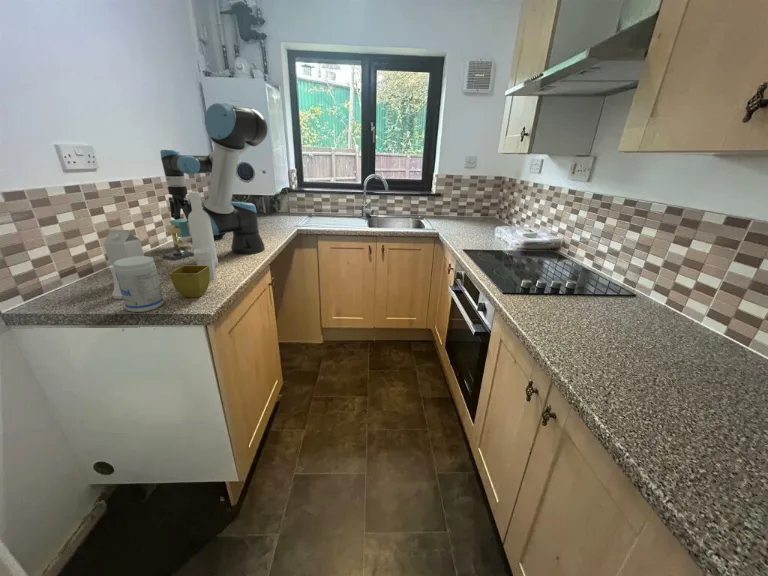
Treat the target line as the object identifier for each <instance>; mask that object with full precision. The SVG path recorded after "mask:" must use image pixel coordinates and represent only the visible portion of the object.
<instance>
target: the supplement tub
mask: <svg viewBox="0 0 768 576" xmlns="http://www.w3.org/2000/svg"><path fill="white" fill-rule="evenodd" d="M113 264H114V270H115V274H116V277H117V281H118V284H119V287H120V291H121V294H122V297H123V299H122V300H123V303H124V307H125V309H126V310H127V311H129V312H132V313H143V312H144V313H145V312H149V311H152V310H156V309H158V308H159V307H161V306H162V305H164V303H165V300H164V295H163V291H162V287H161V284H160V279H159V274H158V269H157V267H156V262H155V261H154V257H152V256H146V255H144V256H136V257H128V258H123V259H120V260H117V261H115V262H114V263H113Z"/></svg>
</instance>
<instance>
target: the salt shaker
mask: <svg viewBox="0 0 768 576" xmlns="http://www.w3.org/2000/svg"><path fill="white" fill-rule="evenodd" d="M108 268H109V270H110V271H111V274H112V278H113V292H112V293H111V295H112V298H114V299H118V300H119V299H121V300H123V297H122V294H121V291H120V287H119V284H118V281H117V277H116V274H115V270H114V265H111V266H110V265H109V266H108Z"/></svg>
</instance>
